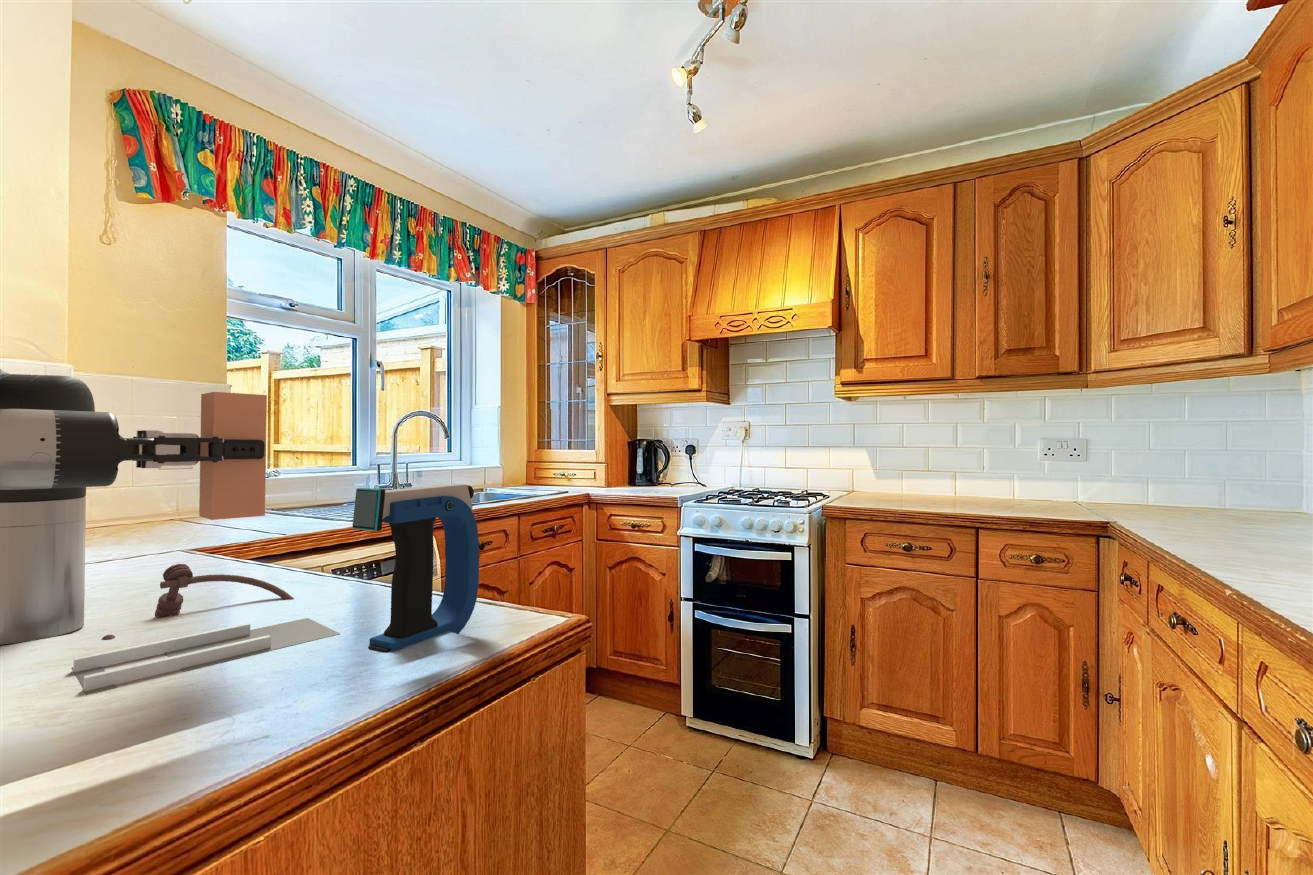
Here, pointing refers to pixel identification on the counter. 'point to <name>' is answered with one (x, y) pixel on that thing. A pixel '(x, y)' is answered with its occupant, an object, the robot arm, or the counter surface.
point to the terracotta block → (232, 481)
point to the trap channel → (193, 652)
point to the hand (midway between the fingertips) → (254, 449)
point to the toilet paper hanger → (183, 576)
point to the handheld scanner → (424, 558)
